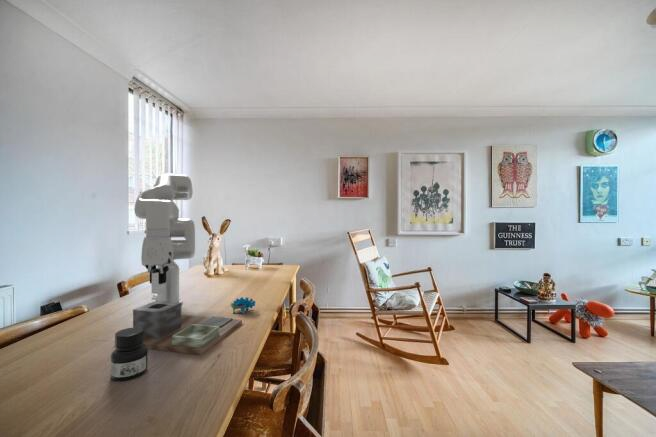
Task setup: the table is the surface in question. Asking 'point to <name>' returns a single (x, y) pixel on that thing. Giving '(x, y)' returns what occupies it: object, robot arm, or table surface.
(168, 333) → the workbench
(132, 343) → the ink bottle
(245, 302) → the blue lumpy piece
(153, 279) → the grey capped block
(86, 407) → the table surface
